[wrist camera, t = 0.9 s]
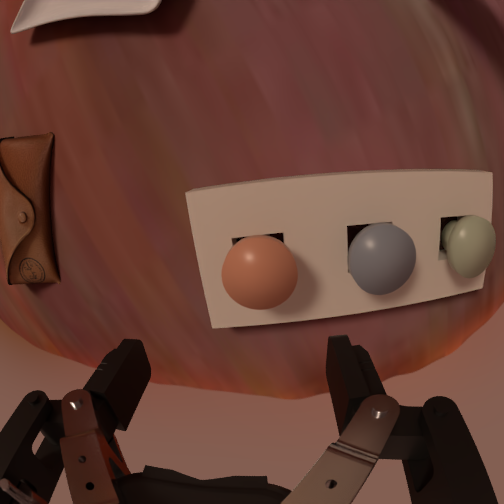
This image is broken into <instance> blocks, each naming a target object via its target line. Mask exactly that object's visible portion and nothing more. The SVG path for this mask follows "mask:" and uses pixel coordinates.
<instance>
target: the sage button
mask: <svg viewBox="0 0 504 504" xmlns="http://www.w3.org/2000/svg"><path fill="white" fill-rule="evenodd" d="M441 243H442V246H443V248H444V249H445V250H447V259H448V262H449V264H450V266H451V268H452V269H453V270H455V271H456V272H457V273H459V274H460V275H461V276H463V277H465V278H474V277H476V276H478V275H480V274H481V273H482V272H483V271H484V270H485V269H486V268H487V267H488V265H489V263H490V262H491V260H492V257H493V254H494V251H495V244H496V237H495V231H494V228H493V226H492V225H491V223H490V222H489V221H488V220H486V219H484V218H481V217H479V216H476V215H467V216H465V217H463V218H461V219H460V220H459V221H457V220H453V221H450V222H449V223H447V224H446V226H445V227H444V229H443V231H442V235H441Z"/></svg>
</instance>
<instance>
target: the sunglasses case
mask: <svg viewBox="0 0 504 504" xmlns="http://www.w3.org/2000/svg"><path fill="white" fill-rule="evenodd" d="M53 141H54V134H53V133H52V132H49V133H47V134H44V135H33V136H24V137H18V138H14V137H8V138H1V139H0V238H1V245H2V251H3V256H4V262H5V267H6V274H7V282H8V284H9V285H12V284H30V283H58V284H60V282H61V281H60V276H59V272H58V268H57V264H56V259H55V253H54V247H53V239H52V227H51V214H50V213H51V212H50V165H51V154H52V148H53Z"/></svg>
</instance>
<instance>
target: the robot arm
mask: <svg viewBox="0 0 504 504" xmlns="http://www.w3.org/2000/svg"><path fill="white" fill-rule="evenodd" d="M326 376H327V381H328V386H329V390H330V394H331V398H332V403H333V408H334V412H335V417H336V422H337V426H338V431H339V436H340V438H339V439H338V440H337V442H336V443H332V444H330V445H329V447H328V448H327V449H326V450H325V452H324V453H323V454H322V456H321V457H320V458H319V460H318V461H317V462H316V463H315V465H314V466H313V467H312V468H311V469H310V471H309V472H308V473H307V474H306V476H305V477H304V478H303V479H302V480H301V482H300V483H299V484H298V485H297V486H296V487H295V489H293V491H291V490H289V489H286V488H284V487H281V486H278V485H274V484H268V482H267V476H231V477H224V478H217V479H209V480H199V479H196V478H193V477H190V476H187V475H184V474H182V473H179V472H176V471H174V470H170V469H163V468H158V467H152V466H147V465H145V468H144V470H143V472H140V473H133V474H131V472H130V471H129V469H128V467H127V465H126V462H125V460H124V457H123V455H122V452H121V450H120V447H119V444H118V442H117V439H116V437H115V435H114V432H115V430H116V429H118V430H123V431H126V430H127V427H128V425H129V423H130V421H131V419H132V416H133V414H134V412H135V410H136V408H137V406H138V403H139V401H140V399H141V397H142V394H143V393H144V391H145V388H146V386H147V384H148V382H149V380H150V377H151V367H150V364H149V361H148V358H147V355H146V352H145V349H144V346H143V343H142V341H141V340H137V339H124V340H123V341H122V342H121V343H120V345H119V346H118V348H117V349H114V350H112V351H111V352H110V353H108V354H107V355H106V356H105V357H104V359H103V360H102V362H101V364H100V365H99V366H98V367H97V370H95V372H94V373H93V375H92V376H91V377H90V379H89V381H88V382H87V384H86V385H85V386H84V388H83V389H77V390H73V391H71V392H69V393H67V394H66V395H65V396H64V398H63V399H62V400H49V398H48V397H47V395H46V394H45V393H44V392H43V391H39V390H37V391H32V392H30V393H28V394H27V395H26V396H25V397H24V398H23V400H22V401H21V403H20V404H19V406H18V407H17V409H16V410H15V412H14V413H13V414H12V416H11V417H10V419H9V420H8V422H7V423H6V425H5V426H4V428H3V429H2V431H1V432H0V504H49V502H50V499H51V497H52V494H53V491H54V489H55V487H56V485H57V482H58V480H59V477H60V475H61V473H62V471H63V468H65V473H66V477H67V482H68V486H69V490H70V494H71V498H72V501H73V504H351V503H352V502H353V500H354V499H355V497H356V495H357V494H358V492H359V491H360V489H361V488H362V486H363V484H364V483H365V481H366V480H367V478H368V476H369V475H370V473H371V471H372V469H373V468H374V466H375V464H376V462H377V461H378V459H401V460H402V463H403V467H404V471H405V475H406V480H407V484H408V488H409V493H410V497H411V502H412V504H498V502H497V499H496V496H495V493H494V490H493V487H492V485H491V482H490V479H489V476H488V474H487V471H486V469H485V466H484V464H483V461H482V459H481V456H480V454H479V452H478V449H477V447H476V445H475V443H474V440H473V438H472V436H471V434H470V432H469V429H468V427H467V425H466V423H465V421H464V419H463V417H462V415H461V413H460V411H459V409H458V407H457V405H456V404H455V403H454V402H453V401H452V400H451V399H449V398H447V397H443V396H436V397H432V398H430V399H428V400H427V401H426V402H425V404H424V406H423V407H408V406H401V405H399V403H398V402H397V401H396V400H395V399H394V398H392V397H390V396H388V395H387V394H386V392H385V390H384V388H383V385H382V383H381V380H380V378H379V376H378V373H377V371H376V369H375V367H374V364H373V362H372V360H371V358H370V355H369V353H368V352H367V351H366V350H365V349H364V348H363V347H362V346H360V345H355V346H352V345H351V343H350V340H349V338H348V336H347V335H337V336H329V338H328V347H327V359H326ZM40 431H41V433H42V434H43V435H44V436H45V438H44V440H43V441H42V443H41V445H40V447H39V449H38V450H37V453H36V454H35V455H34V454H33V452H32V444H33V442H34V440H35V438H36V437H37V435H38V433H39V432H40Z"/></svg>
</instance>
